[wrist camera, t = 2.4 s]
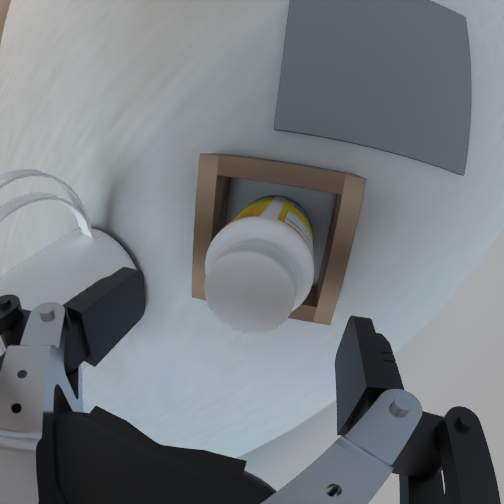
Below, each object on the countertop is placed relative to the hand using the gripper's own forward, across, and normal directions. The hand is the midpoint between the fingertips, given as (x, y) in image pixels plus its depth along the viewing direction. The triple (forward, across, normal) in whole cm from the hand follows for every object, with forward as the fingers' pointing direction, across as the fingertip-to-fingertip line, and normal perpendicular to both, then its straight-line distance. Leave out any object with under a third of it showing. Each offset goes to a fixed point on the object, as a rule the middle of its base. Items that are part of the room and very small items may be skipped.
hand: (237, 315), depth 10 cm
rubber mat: (+10, -6, -14) cm, 19 cm away
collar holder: (+11, 0, 0) cm, 11 cm away
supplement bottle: (+11, 0, 0) cm, 11 cm away
